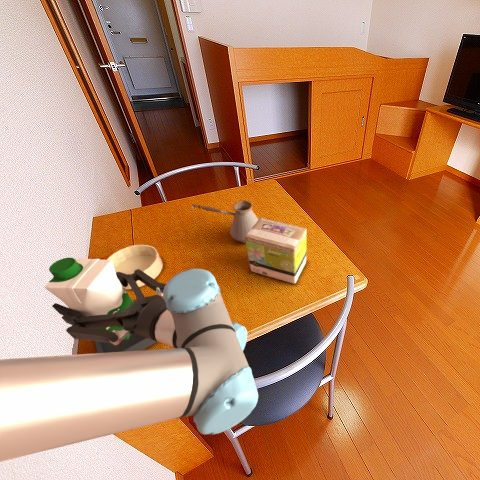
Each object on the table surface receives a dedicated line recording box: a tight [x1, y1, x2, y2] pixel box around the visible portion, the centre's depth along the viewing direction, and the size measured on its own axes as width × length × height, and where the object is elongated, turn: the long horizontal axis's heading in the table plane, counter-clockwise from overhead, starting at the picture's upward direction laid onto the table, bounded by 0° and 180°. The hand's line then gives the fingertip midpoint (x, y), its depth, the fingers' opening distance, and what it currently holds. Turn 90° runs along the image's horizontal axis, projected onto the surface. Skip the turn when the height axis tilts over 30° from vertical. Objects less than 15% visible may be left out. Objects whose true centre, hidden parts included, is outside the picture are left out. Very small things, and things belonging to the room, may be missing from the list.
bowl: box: [106, 244, 164, 291], centre depth 82 cm, size 14×14×4 cm
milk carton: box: [44, 257, 134, 339], centre depth 58 cm, size 9×9×20 cm
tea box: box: [245, 216, 308, 285], centre depth 81 cm, size 15×10×15 cm, turn 72°
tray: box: [93, 334, 159, 353], centre depth 66 cm, size 12×12×3 cm
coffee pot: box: [191, 199, 260, 244], centre depth 92 cm, size 21×12×15 cm, turn 102°
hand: (81, 290), depth 58 cm, fingers closed on milk carton, 9 cm apart
